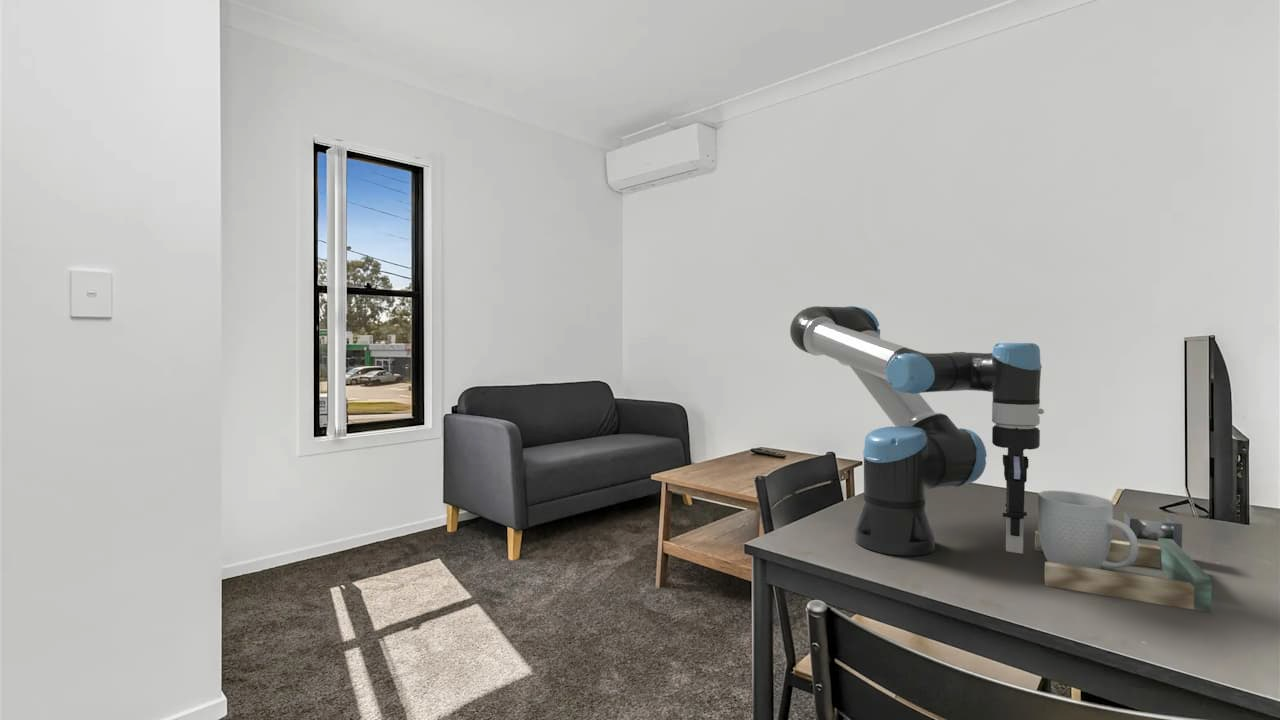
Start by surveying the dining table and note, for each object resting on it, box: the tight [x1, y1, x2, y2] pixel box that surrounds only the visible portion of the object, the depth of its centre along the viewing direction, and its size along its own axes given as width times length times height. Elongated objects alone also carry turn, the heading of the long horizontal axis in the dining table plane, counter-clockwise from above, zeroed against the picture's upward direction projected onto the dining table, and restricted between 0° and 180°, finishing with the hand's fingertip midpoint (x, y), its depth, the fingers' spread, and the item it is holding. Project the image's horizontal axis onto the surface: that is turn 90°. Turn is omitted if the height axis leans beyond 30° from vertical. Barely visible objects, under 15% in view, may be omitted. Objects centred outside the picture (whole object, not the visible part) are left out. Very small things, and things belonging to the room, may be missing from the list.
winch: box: [1123, 511, 1183, 550], centre depth 115 cm, size 8×6×8 cm
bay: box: [1034, 529, 1213, 613], centre depth 106 cm, size 21×21×5 cm
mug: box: [1037, 490, 1139, 570], centre depth 108 cm, size 15×11×13 cm
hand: (1014, 551), depth 113 cm, fingers closed
